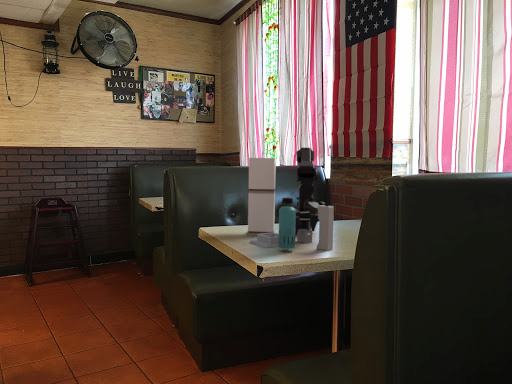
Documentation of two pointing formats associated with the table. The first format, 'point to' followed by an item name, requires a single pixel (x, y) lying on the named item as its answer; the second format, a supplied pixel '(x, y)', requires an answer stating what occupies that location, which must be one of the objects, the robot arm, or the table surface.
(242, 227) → the table surface
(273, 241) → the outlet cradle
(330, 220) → the vintage mobile phone
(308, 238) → the brick
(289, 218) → the beverage bottle
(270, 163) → the white box wooden trim
